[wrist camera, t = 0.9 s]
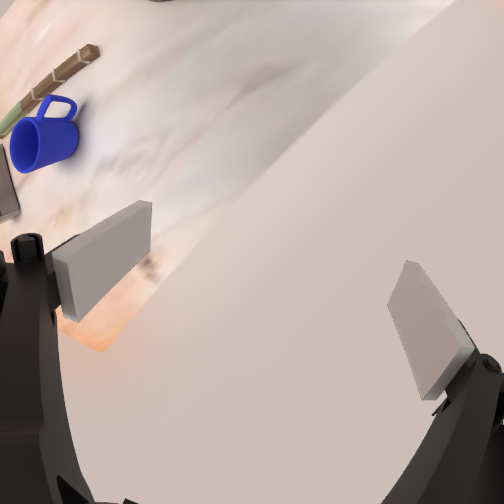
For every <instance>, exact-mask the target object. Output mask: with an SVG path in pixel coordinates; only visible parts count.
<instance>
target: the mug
mask: <svg viewBox="0 0 504 504" xmlns="http://www.w3.org/2000/svg"><path fill="white" fill-rule="evenodd" d="M52 101H57V102H65V103H69V104H70V105H71V109H70V111H69V113H68V114H67V116H66V117H63V118H48V117H44V115H45V113H46V110H47V108H48V107H49V105H50V103H51V102H52ZM76 111H77V105H76V103H75V102H74V101H73V100H71V99H69V98H67V97H63V96H57V95H47V96H46V97H45V98H44V100H43V102H42V104H41V106H40V108H39V110H38V113H37V116H36V117H25V118H22V119H21V120H20V121H18V123H17V124H16V125H15V127H14V129H13V132H12V135H11V139H10V155H11V160H12V162H13V165H14V166H15V168H16V169H17V170H18V171H19V172H21V173H29V172H31V171H34V170H37V169H39V168H42V167H44V166H47V165H50V164H53V163H55V162H58V161H61V160H64V159H66V158H68V157H69V156H70V155H71V154H72V153H73V152H74V150H75V148H76V146H77V142H78V132H77V128H76V126H75V125H74V123H73V122H72V121H70V120H71V119H72V118H73V117H74V115H75V113H76Z"/></svg>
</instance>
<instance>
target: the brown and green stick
mask: <svg viewBox="0 0 504 504" xmlns="http://www.w3.org/2000/svg"><path fill="white" fill-rule="evenodd" d="M97 57H99V51H98V47H97V46H94V45H90V44H87V45H86V46H85V47H83V48H82V49H78V50H77V52H76V53H75V54H74V55H72V56H71V57H70V58H69V59H67V60H66V61H65V62H63V63H62V64H61V65H60V66H59V67H57V68H56V69H53V70H52V72H51V73H50V74H49V75H48V76H47V77H46V78H45V79H43V80H42V81H41V82H40V83H39V84H38V85H37V86H36V87H35V88H32V89H31V91H30V92H29V93H28V94H27V95H26V96H25V97H24V98H23V99H22V100H21V101H19V102H18V103H17V104H16V106H15V107H14V108H13V109H12V110H11V111H10V112H9V113H8V114H7V115H6V116H5V117H4V118H3V120H2V121H1V122H0V139H3V138H4V137H5V135H7V134H8V133H9V132H10V131H11V130H12V129H13V128H14V127H15V125H16V124H17V123H18V121H20V120H21V119H22V118H24V117H25V116H26V115H27V114H28V113H29V112H30V111H31V110H32V109H33V108H34V107H35V106H36V105H37V104H38V103H39V102H40V101H41V100H44V98H45V97H46V96H47V95H48V94H50V93H51V92H52V91H53V90H54V89H56V88H57V87H58V86H59V85H61V84H62V83H63V82H65V81H66V80H67V79H68V78H69V77H71V76H72V75H73V74H75V73H76V72H77V71H79V70H80V69H82V68H83V67H84V66H86V65H87V64H90V63H91V61H93V60H94V59H96V58H97Z"/></svg>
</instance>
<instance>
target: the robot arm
mask: <svg viewBox="0 0 504 504" xmlns="http://www.w3.org/2000/svg"><path fill="white" fill-rule="evenodd" d="M150 1H169V0H150ZM151 215H152V203H151V202H146V201H141V200H139V201H137V202H135V203H133V204H132V205H130V206H128V207H126V208H124V209H123V210H121V211H119V212H117V213H115V214H114V215H112V216H110V217H108V218H107V219H105V220H103V221H102V222H100V223H98V224H97V225H95V226H93V227H92V228H90V229H88V230H87V231H85V232H83V233H81V234H78V235H75V236H73V237H72V238H70V239H68V240H67V241H65V242H64V243H62V244H61V245H59V246H57V247H56V248H54V249H53V250H51V251H50V252H48V253H47V254H45V255H44V249H43V241H42V236H41V235H39V234H36V233H26V234H22V235H19V236H17V237H15V238H14V239H13V240H12V241H11V242H10V243H11V249H12V254H13V260H14V263H6V262H5V258H4V254H3V252H2V251H1V250H0V504H117V503H107V502H95V501H94V499H93V496H92V494H91V491H90V489H89V487H88V485H87V483H86V481H85V479H84V478H83V475H82V473H81V471H80V468H79V464H78V460H77V457H76V453H75V449H74V445H73V441H72V437H71V432H70V428H69V423H68V419H67V412H66V407H65V401H64V395H63V388H62V380H61V372H60V362H59V352H58V335H57V316H56V312H55V309H56V308H57V307H58V306H59V305H61V308H62V312H63V316H64V317H65V318H68V319H70V320H72V321H74V322H77V323H79V322H80V321H81V320H82V319H83V317H84V316H85V315H86V314H87V313H88V312H89V311H90V310H91V309H92V308H93V307H94V306H95V305H96V304H97V303H98V302H99V301H100V300H101V299H102V298H103V297H104V296H105V295H106V294H107V293H108V292H109V291H110V290H111V289H112V288H113V287H114V286H115V285H116V284H117V283H118V282H119V281H120V280H121V279H122V278H123V277H124V276H125V275H126V274H127V273H128V272H129V271H130V270H131V269H132V268H133V267H134V266H135V265H136V264H137V263H138V262H139V261H140V260H142V259H143V258H144V257H145V256H146V255H147V254H148V253H149V252H150V237H151ZM387 306H388V309H389V311H390V313H391V316H392V318H393V321H394V323H395V326H396V329H397V331H398V334H399V336H400V338H401V341H402V344H403V347H404V350H405V352H406V355H407V358H408V361H409V364H410V367H411V369H412V372H413V375H414V378H415V381H416V384H417V388H418V391H419V394H420V397H421V400H436V399H438V397H439V396H440V395H441V394H442V392H443V391H444V390H445V391H446V394H447V398H446V399H445V400H444V401H443V403H442V404H441V405H440V406H439V407H438V408H437V409H436V411H435V412H434V413H433V414H432V416H434V415H435V414H437V415H436V417H435V419H434V421H433V423H432V425H431V426H430V428H429V430H428V432H427V434H426V436H425V437H424V439H423V441H422V443H421V445H420V446H419V448H418V450H417V451H416V453H415V455H414V456H413V458H412V460H411V461H410V463H409V465H408V466H407V468H406V469H405V471H404V472H403V474H402V475H401V477H400V478H399V480H398V481H397V483H396V484H395V485H394V487H393V488H392V490H391V491H390V493H389V494H388V495H387V496H386V498H385V499H384V500H383V502H382V503H381V504H504V425H503V420H504V373H502V370H501V367H500V365H499V363H498V362H497V361H496V360H495V359H494V358H493V357H491V356H490V355H488V354H480V352H479V351H478V349H477V347H476V345H475V344H474V342H473V340H472V339H471V337H469V334H468V332H467V331H465V330H466V329H465V327H464V326H463V324H462V323H461V322H460V320H458V319H457V318H456V316H455V314H454V313H453V311H452V310H451V309H450V307H449V306H448V304H447V303H446V301H445V300H444V298H443V297H442V295H441V294H440V292H439V291H438V289H437V288H436V287H435V285H434V284H433V283H432V281H431V280H430V278H429V277H428V276H427V275H426V273H425V271H424V270H423V269H422V267H421V266H420V265H419V263H415V262H411V261H408V260H406V262H405V265H404V267H403V270H402V272H401V275H400V277H399V279H398V282H397V284H396V286H395V289H394V291H393V293H392V296H391V298H390V300H389V302H388V304H387ZM123 504H138V503H135V502H133V501H130V500H128V499H125V500H124V502H123Z"/></svg>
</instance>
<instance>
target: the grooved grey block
mask: <svg viewBox="0 0 504 504" xmlns="http://www.w3.org/2000/svg"><path fill="white" fill-rule="evenodd" d="M20 213H21V211H20V208H19V205H18V202H17V199H16V196H15V192H14V189H13V186H12V182H11V179H10V175H9V171H8V167H7V163H6V159H5V154H4V150H3V145H2V144H0V224H2V223H4V222H6V221H8V220H10V219H13V218H14V217H16V216H17V215H18V214H20Z"/></svg>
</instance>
